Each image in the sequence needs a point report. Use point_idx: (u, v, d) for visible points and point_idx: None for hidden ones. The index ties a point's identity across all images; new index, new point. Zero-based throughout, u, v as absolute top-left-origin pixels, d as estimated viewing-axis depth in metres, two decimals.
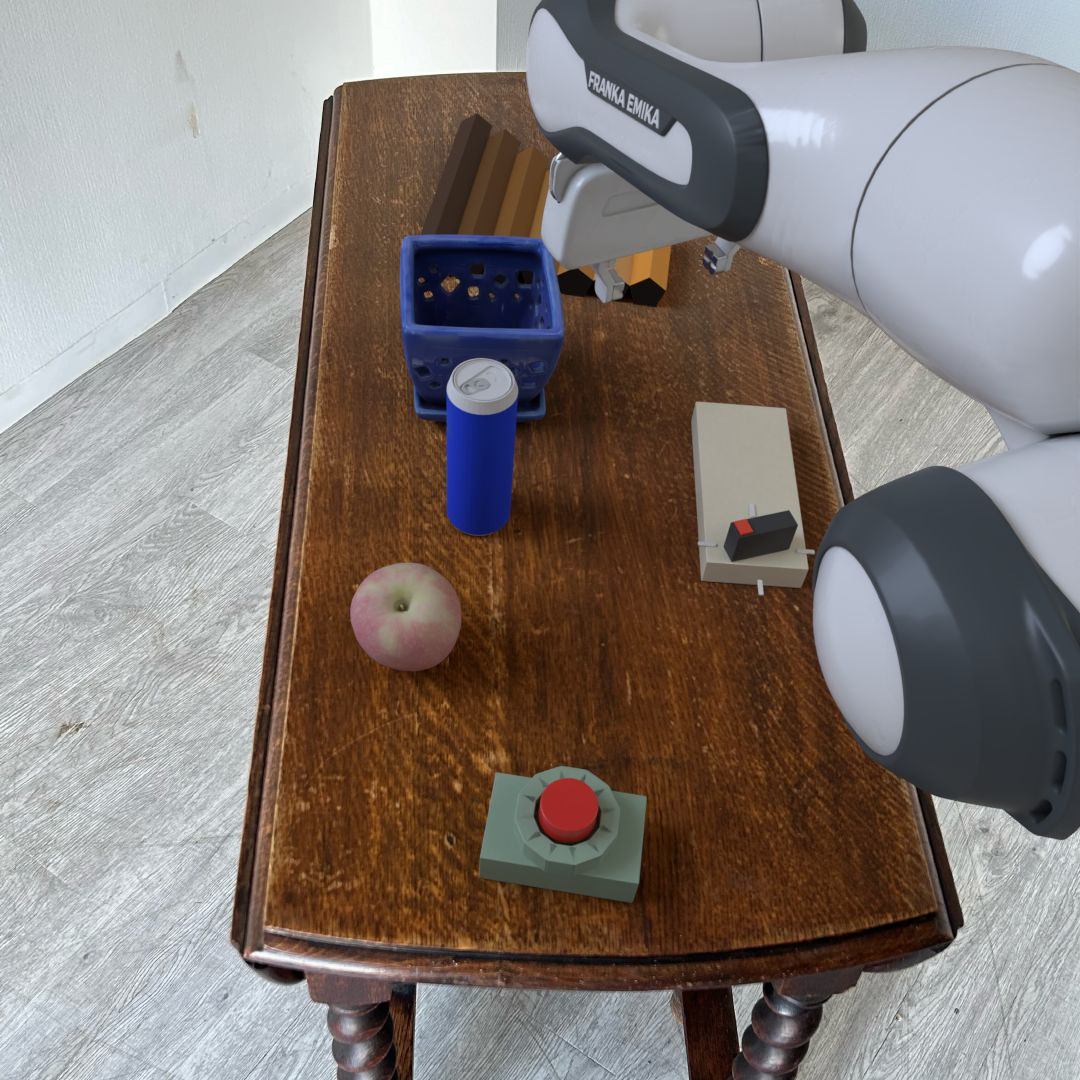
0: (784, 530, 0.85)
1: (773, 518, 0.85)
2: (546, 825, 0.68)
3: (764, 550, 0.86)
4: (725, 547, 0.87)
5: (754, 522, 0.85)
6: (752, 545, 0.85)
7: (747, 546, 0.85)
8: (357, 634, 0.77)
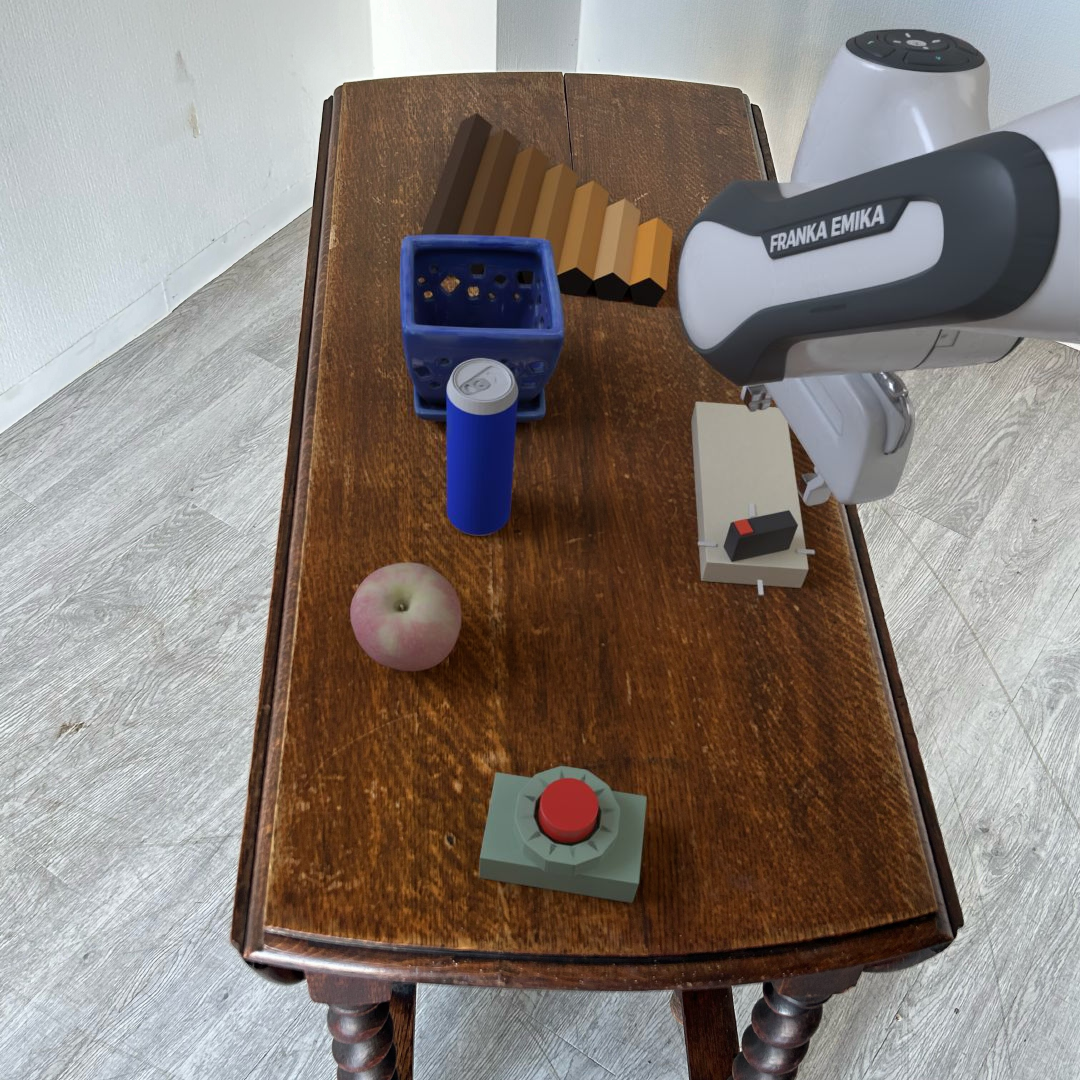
0: (784, 530, 0.85)
1: (773, 518, 0.85)
2: (546, 825, 0.68)
3: (764, 550, 0.86)
4: (725, 547, 0.87)
5: (754, 522, 0.85)
6: (752, 545, 0.85)
7: (747, 546, 0.85)
8: (357, 634, 0.77)
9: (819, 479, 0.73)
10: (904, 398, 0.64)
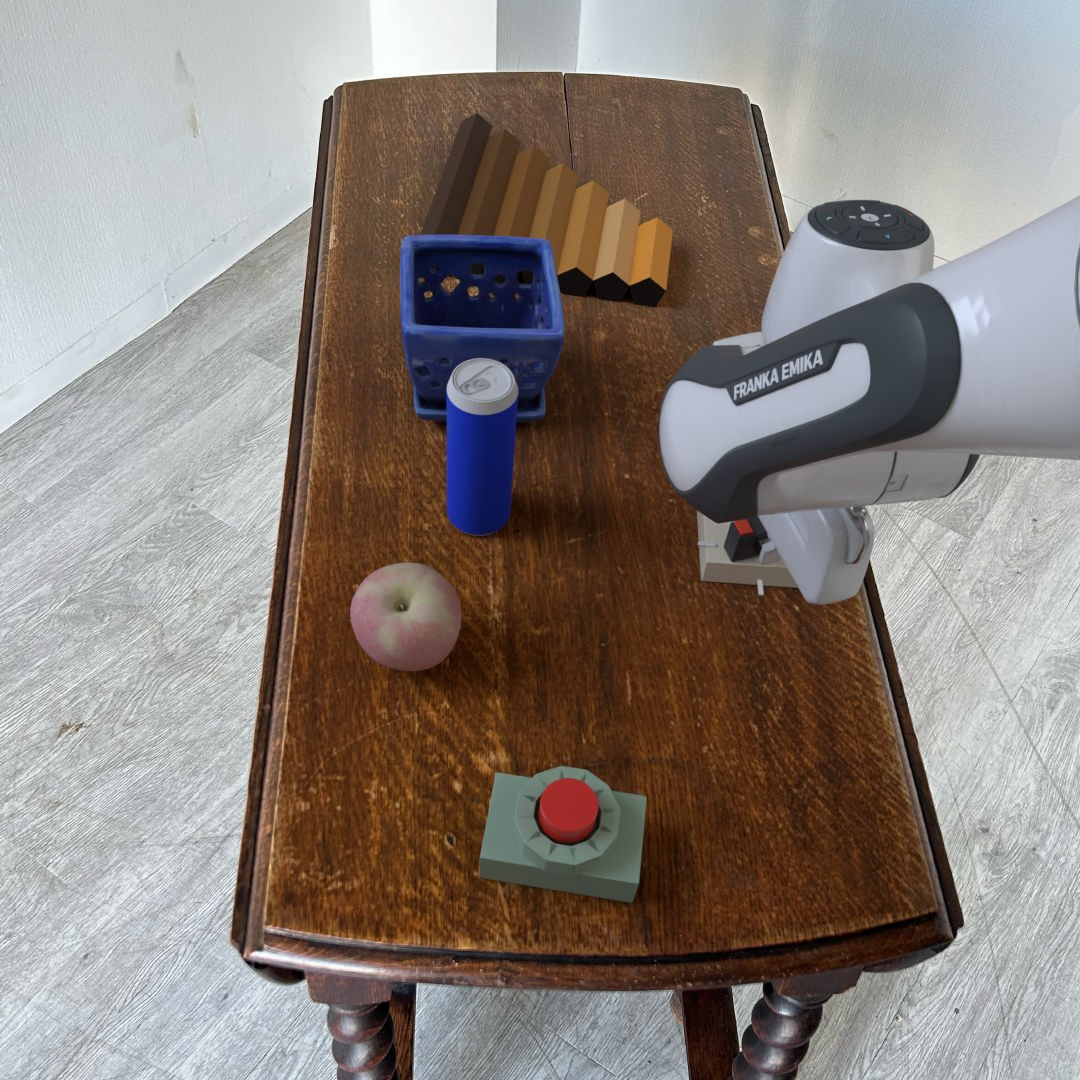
0: None
1: None
2: (546, 825, 0.68)
3: None
4: (725, 547, 0.87)
5: (754, 522, 0.85)
6: (752, 545, 0.85)
7: (747, 546, 0.85)
8: (357, 634, 0.77)
9: (771, 544, 0.82)
10: (863, 518, 0.71)
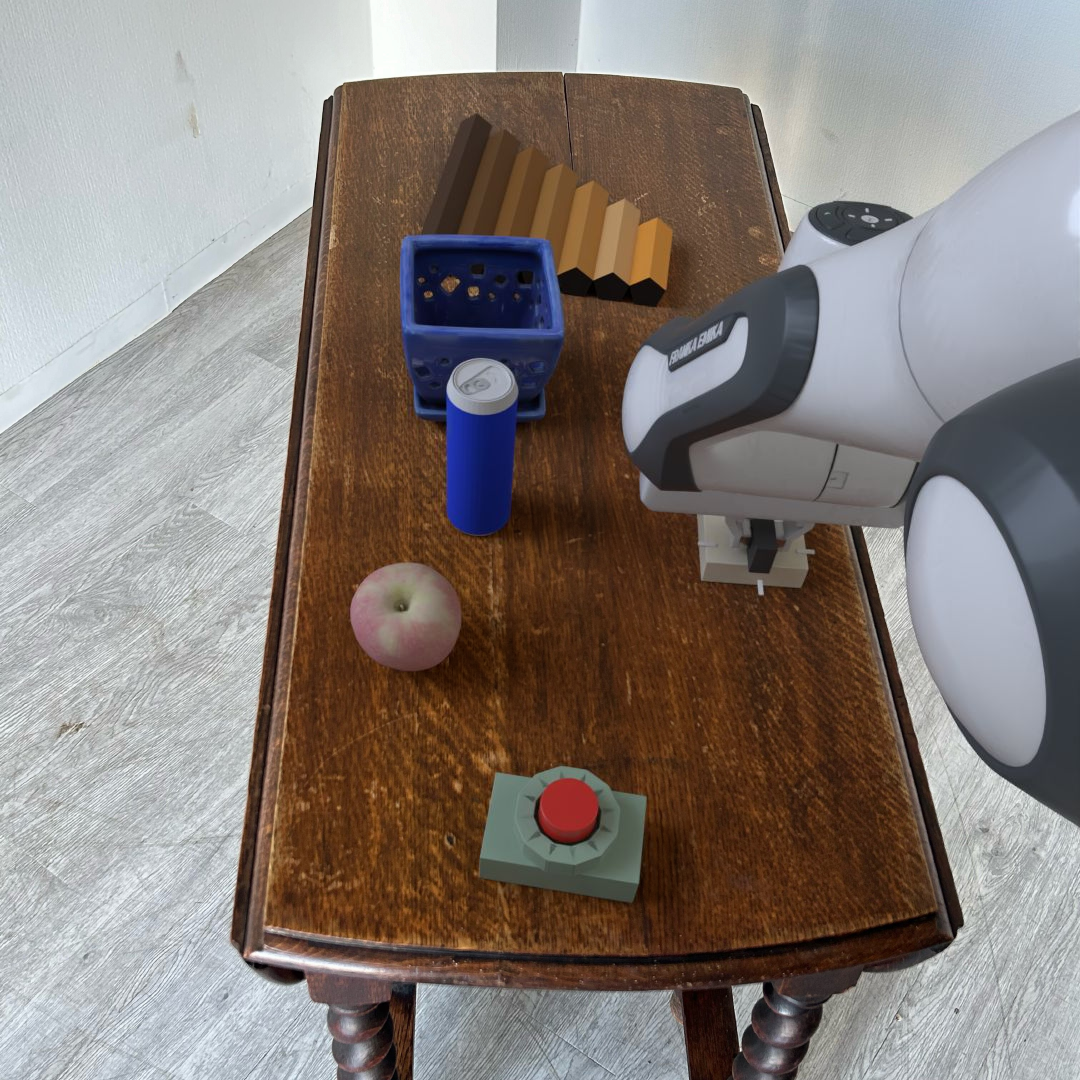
0: (754, 539, 0.84)
1: (769, 532, 0.84)
2: (546, 825, 0.68)
3: None
4: None
5: None
6: None
7: None
8: (357, 634, 0.77)
9: None
10: None
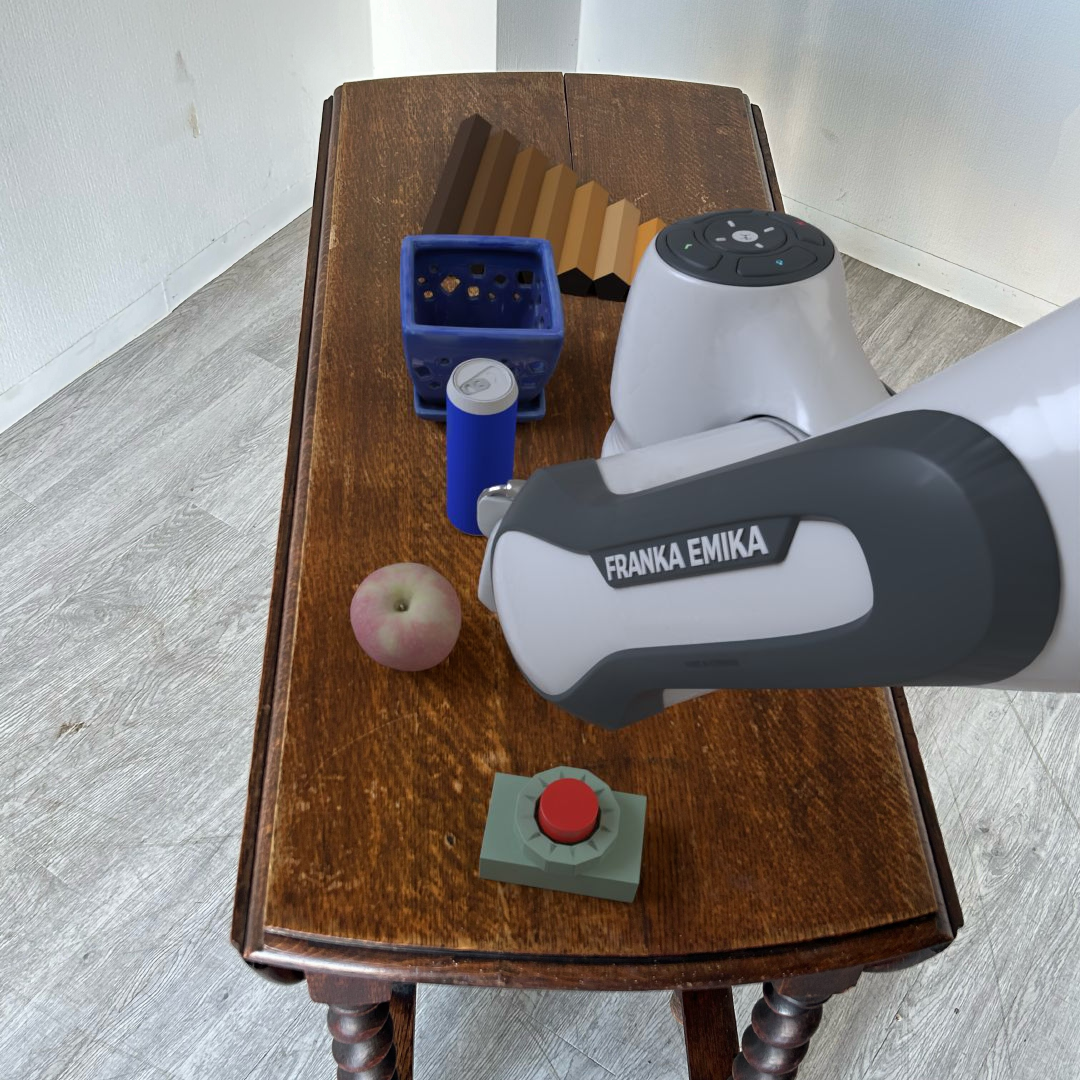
0: None
1: None
2: (546, 825, 0.68)
3: None
4: None
5: None
6: None
7: None
8: (357, 634, 0.77)
9: None
10: (501, 485, 0.56)
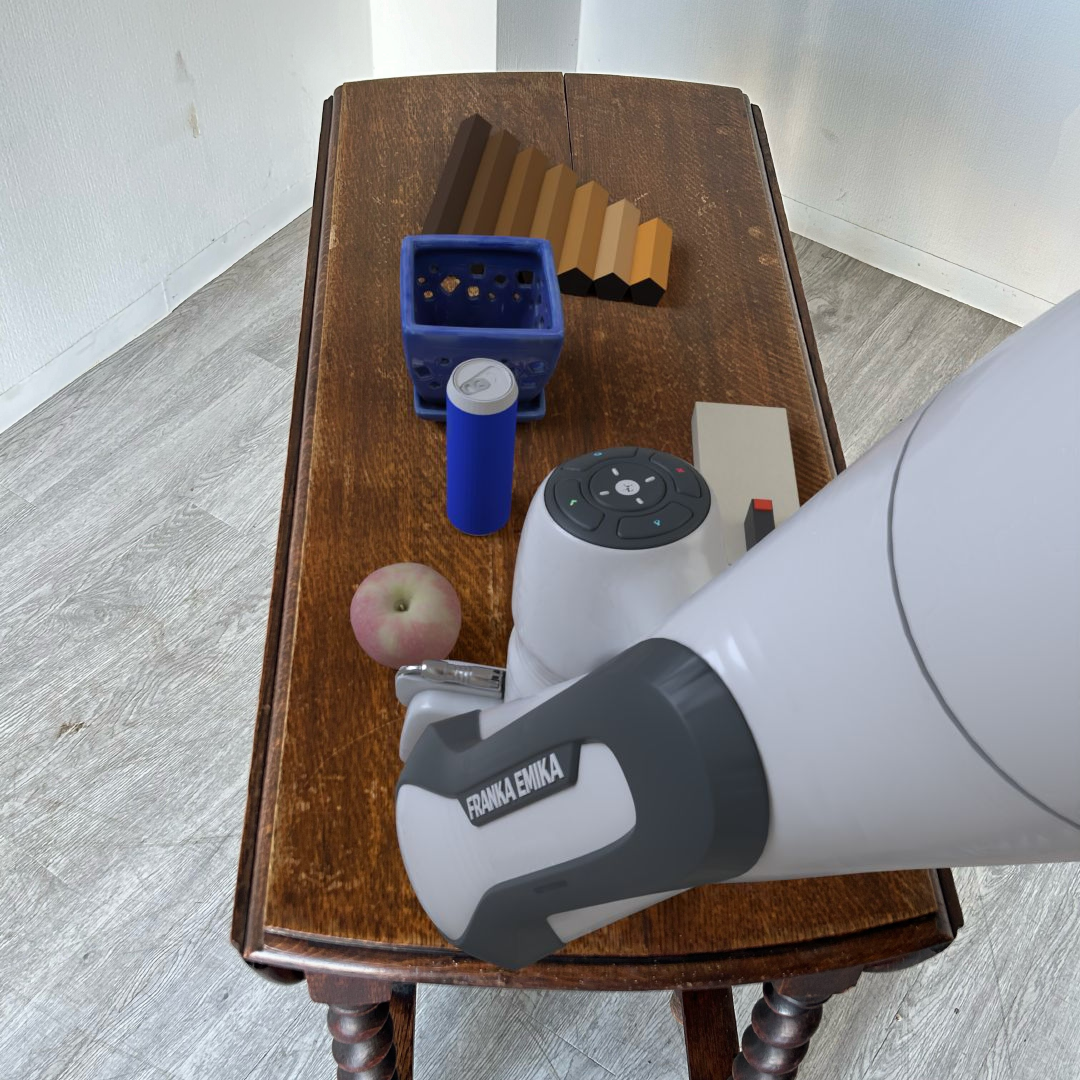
0: (754, 539, 0.84)
1: (769, 532, 0.84)
2: None
3: (747, 544, 0.87)
4: None
5: (767, 516, 0.85)
6: (749, 523, 0.87)
7: (748, 519, 0.87)
8: (357, 634, 0.77)
9: None
10: (417, 666, 0.59)
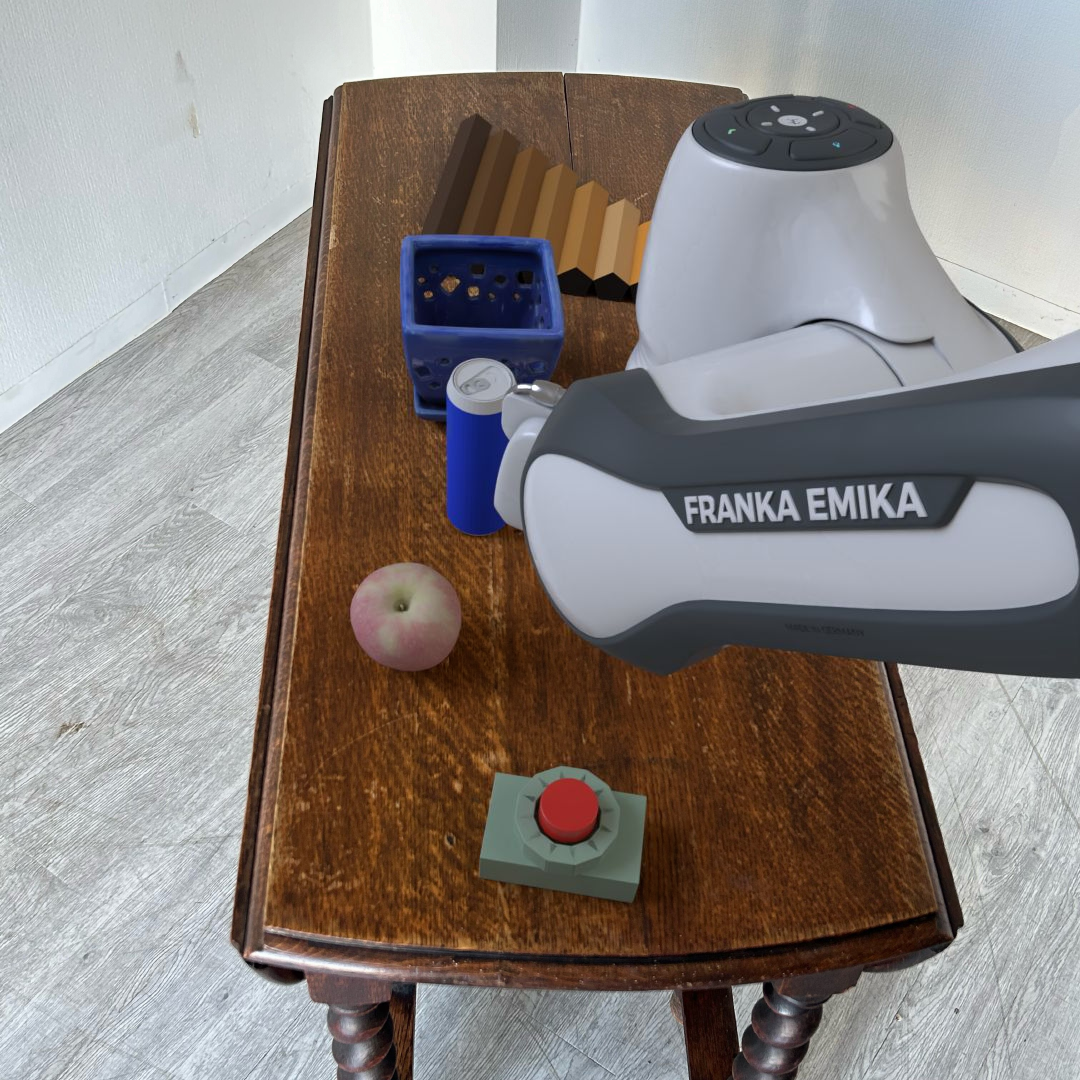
0: None
1: None
2: (546, 825, 0.68)
3: None
4: None
5: None
6: None
7: None
8: (357, 634, 0.77)
9: None
10: (528, 384, 0.53)
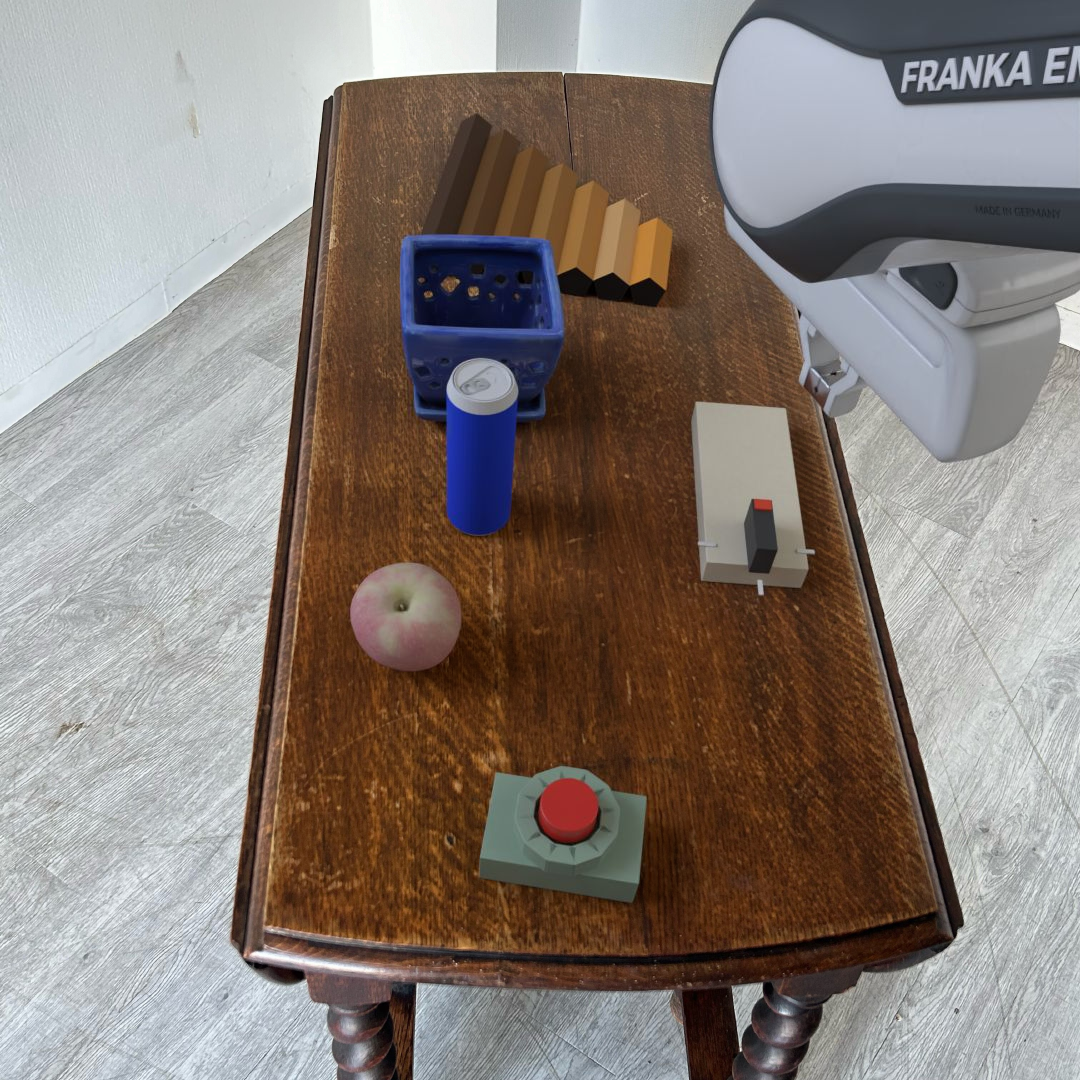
0: (754, 539, 0.84)
1: (769, 532, 0.84)
2: (546, 825, 0.68)
3: (747, 544, 0.87)
4: None
5: (767, 516, 0.85)
6: (749, 523, 0.87)
7: (748, 519, 0.87)
8: (357, 634, 0.77)
9: None
10: None
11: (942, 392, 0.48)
